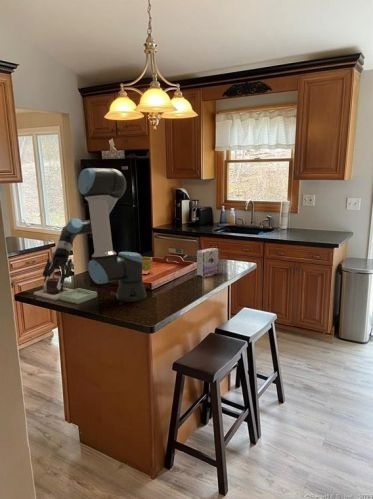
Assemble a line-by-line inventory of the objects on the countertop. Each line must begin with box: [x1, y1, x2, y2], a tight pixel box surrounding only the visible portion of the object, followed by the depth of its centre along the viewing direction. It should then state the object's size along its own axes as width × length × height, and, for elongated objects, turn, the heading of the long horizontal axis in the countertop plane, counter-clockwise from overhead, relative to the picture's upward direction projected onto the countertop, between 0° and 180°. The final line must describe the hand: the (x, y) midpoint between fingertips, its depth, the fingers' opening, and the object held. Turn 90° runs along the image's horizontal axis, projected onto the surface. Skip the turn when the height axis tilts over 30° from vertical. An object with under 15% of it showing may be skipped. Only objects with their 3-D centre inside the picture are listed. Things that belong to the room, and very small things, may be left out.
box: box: [46, 277, 64, 295], centre depth 197 cm, size 6×6×7 cm
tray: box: [58, 287, 98, 305], centre depth 190 cm, size 13×13×2 cm
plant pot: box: [142, 256, 153, 270], centre depth 236 cm, size 10×10×10 cm
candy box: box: [196, 247, 220, 276], centre depth 231 cm, size 14×6×16 cm, turn 133°
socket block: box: [33, 286, 74, 300], centre depth 197 cm, size 16×14×2 cm
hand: (51, 288), depth 193 cm, fingers closed on box, 6 cm apart
